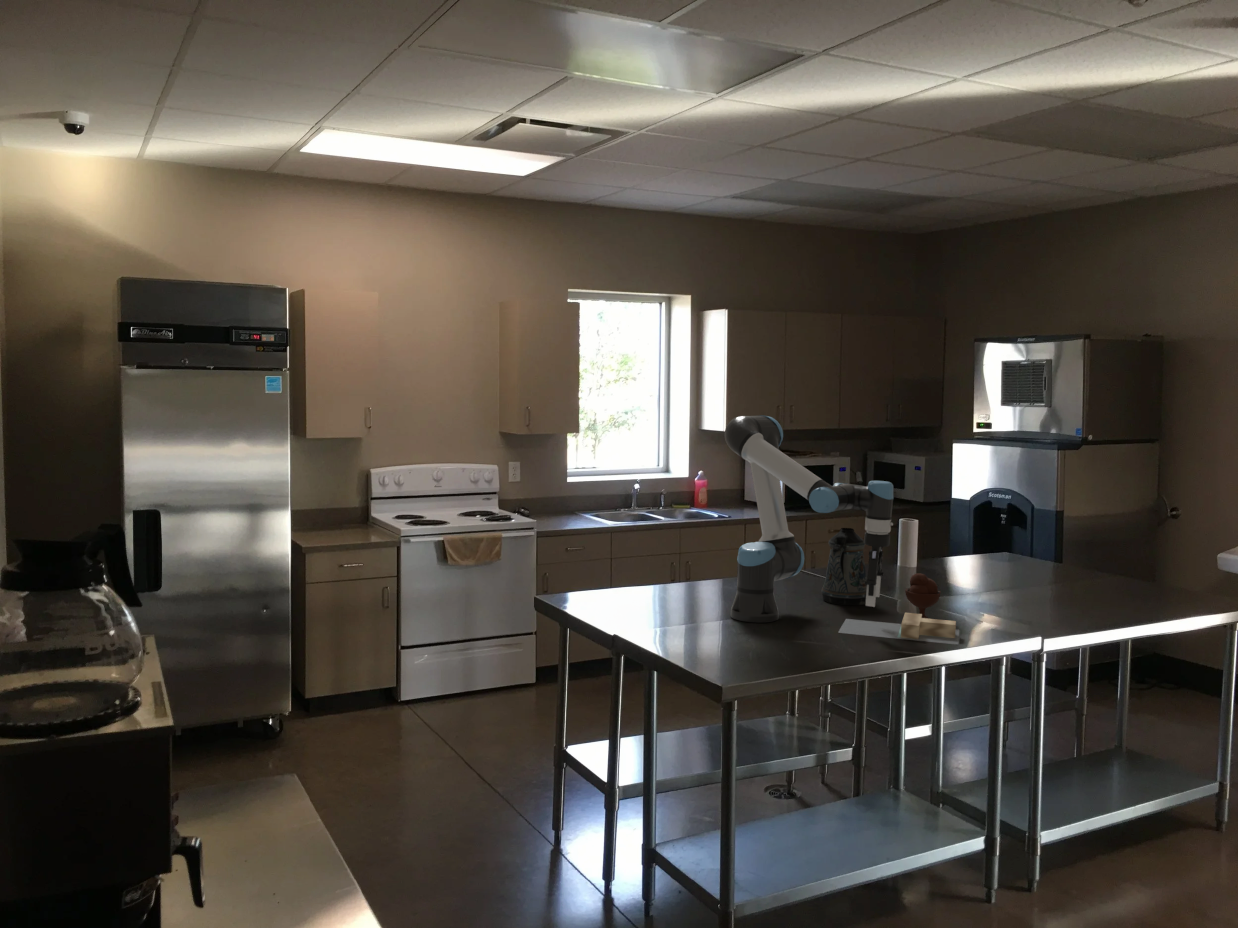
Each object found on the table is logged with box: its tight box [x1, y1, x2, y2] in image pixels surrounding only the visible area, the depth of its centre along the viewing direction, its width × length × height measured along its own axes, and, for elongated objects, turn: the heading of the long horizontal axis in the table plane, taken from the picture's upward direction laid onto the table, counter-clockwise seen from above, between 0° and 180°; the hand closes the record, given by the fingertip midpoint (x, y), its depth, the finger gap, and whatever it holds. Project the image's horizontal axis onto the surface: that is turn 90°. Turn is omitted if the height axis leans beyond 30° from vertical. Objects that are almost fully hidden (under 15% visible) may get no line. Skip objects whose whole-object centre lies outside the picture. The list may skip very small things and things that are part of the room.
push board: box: [837, 618, 960, 645], centre depth 301 cm, size 34×19×1 cm, turn 70°
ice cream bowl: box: [904, 573, 942, 619], centre depth 316 cm, size 11×11×15 cm
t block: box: [900, 612, 957, 639], centre depth 298 cm, size 15×16×4 cm
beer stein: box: [820, 527, 867, 606], centre depth 343 cm, size 16×19×25 cm
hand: (872, 601), depth 303 cm, fingers open, 13 cm apart
